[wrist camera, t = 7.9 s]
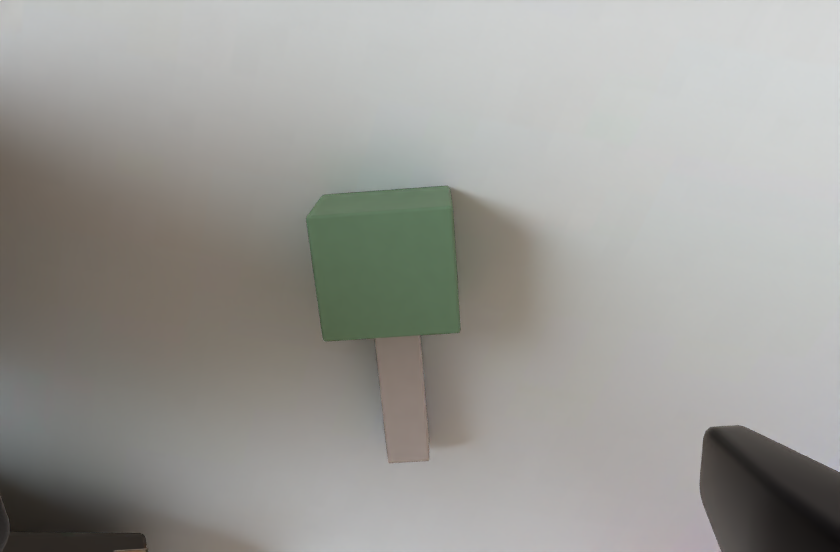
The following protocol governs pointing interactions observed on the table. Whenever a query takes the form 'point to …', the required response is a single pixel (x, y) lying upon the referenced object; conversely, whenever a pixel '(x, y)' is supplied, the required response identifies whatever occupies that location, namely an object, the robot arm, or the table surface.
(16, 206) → the table surface
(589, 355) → the table surface
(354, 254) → the green mallet
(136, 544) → the toy car
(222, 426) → the table surface
